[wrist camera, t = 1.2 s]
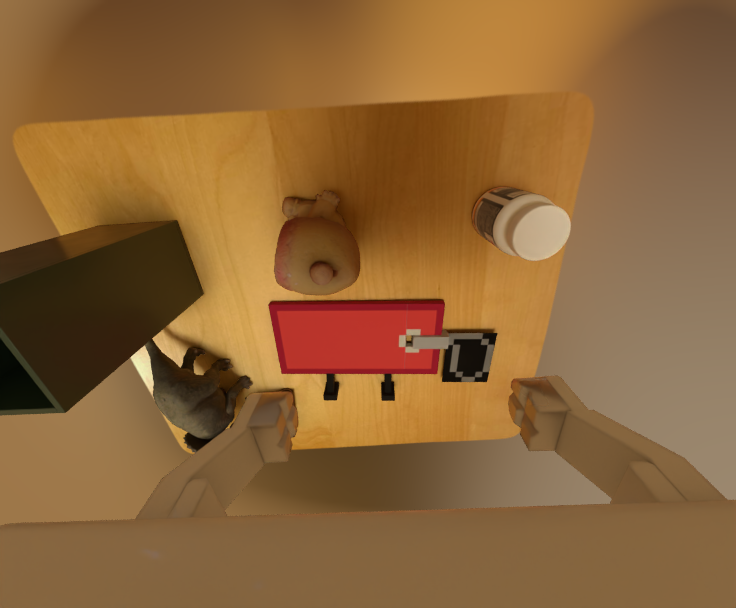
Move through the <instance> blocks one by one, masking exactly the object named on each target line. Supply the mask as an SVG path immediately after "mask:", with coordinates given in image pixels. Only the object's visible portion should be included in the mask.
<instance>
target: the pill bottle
mask: <svg viewBox="0 0 736 608" xmlns="http://www.w3.org/2000/svg"><path fill="white" fill-rule="evenodd" d="M472 222H473V226H474V228H475V230H476V231H477V232H478V233H479V234H480V235H481V236H482V237H484V238H485V239H486V240H488V241H489V242H491V243H492V244H493V245H495V246H496V247H497V248H499V249H500V250H501V251H503V252H504V253H507V254H509V255H513V256H520V257H521V258H523V259H526V260H530V261H538V260H543V259H546V258H548V257H550V256H552V255H554V254H555V253H556V252H558V251H559V250H560V249H561V248H562V246H563V245H564V244H565V242H566V241H567V239H568V236H569V234H570V229H571V223H570V219H569V216H568V214H567V213H566V212H565V211H564V210H563V209H562V208H560V207H558V206H555V205H554V204H553V203H552V202H551V201H550V200H549V199H548V198H546V197H544V196H542V195H539V194H534V193H531V192H527V191H523V190H519V189H515V188H510V187H497V188H494V189H491V190H489V191H488V192H486V193H485V194H483V195H482V196H481V197H480V199H479V200H478V201H477V203H476V205H475V207H474V210H473V213H472Z"/></svg>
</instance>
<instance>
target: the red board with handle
mask: <svg viewBox="0 0 736 608" xmlns="http://www.w3.org/2000/svg"><path fill="white" fill-rule="evenodd" d="M444 307H445V303H444V301H287V302H270V303H269V310H270V315H271V321H272V326H273V331H274V336H275V341H276V347H277V352H278V357H279V362H280V367H281V372H282V374H327V382H326V386H325V391H324V395H323V396H324V400H337V396H338V390H339V382H334V374H385V382H381V393H382V401H395V393H394V382H391V374H437V371H438V362H439V353H440V349H446V352H445V360H444V369H443V377H442V382H487V379H488V375H489V370H490V365H491V360H492V356H493V351H494V346H495V341H496V336H497V333H447V330H442V326H443V316H444ZM406 335H412V339H411V342H412V343H406Z"/></svg>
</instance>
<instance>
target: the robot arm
mask: <svg viewBox="0 0 736 608" xmlns="http://www.w3.org/2000/svg"><path fill="white" fill-rule="evenodd" d="M511 388H512V390H513V393H512V394H511V395H510V396H509V402H508V405H509V412H510V415H511V418H512V420H513V422H514V423H515V424H516V425H518V426H519V427H520V428H521V431H520V435H521V437H522V439H523V440H524V442H525V444H526V446H527V448H528V450H529V451H555V452H556V453H557V454H559V455H560V456H561V457H562V458H563V459H565V460H566V461H567V462H568V463H569V464H571V465H572V466H573V467H574V468H576V469H577V470H578V471H580V472H581V473H582V474H583V475H584V476H585V477H586V478H588V479H589V480H590V481H591V482H593V483H594V484H595V485H596V486H597V487H599V488H600V489H601V490H602V491H604V492H605V493H606V494H607V495H608V496H610V497H611V498H612V500H611V502H610V504H593V505H592V504H591V505H560V506H533V507H532V506H530V507H503V508H501V507H500V508H475V509H473V508H471V509H442V510H412V511H411V510H410V511H380V512H348V513H316V514H287V515H255V516H227V514H226V512H225V509H226V508H227V507H228V506H229V505H230V504H231V502H232V501H233V500H234V499H235V498H236V497H237V496H238V495H239V493H240V492H241V491H242V490H243V489H244V488H245V486H246V485H247V484H248V483H249V482H250V480H251V479H252V478H253V477H254V476H255V475H256V474H257V472H258V471H259V470H260V469H261V468H262V466H263V465H264V463H272V462H286V461H288V459H289V455H290V452H291V448H292V445H293V444H292V441H291V438H292V437H293V436H294V435H295V434H296V430H297V425H298V413H297V409H296V407H294V406H293V405H292V403H293V400H294V398H293V395H292V393H291V392H264V393H251V394H250V395H249V396H248V397H247V399H246V401H245V403H244V405H243V406H242V408H241V410H240V412H239V414H238V416H237V418H236V420H235V422H234V423H233V425H232V427H231V428H227V429H226V430H224V431H223V432H222V433H221V434H219V435H218V436H217V437H215V438H214V439H213V440H211V441H210V442H209V443H208V444H206V445H205V446H204V447H202V448H201V449H200V450H198V451H197V452H196V453H195V454H193V455H192V456H191V457H190V458H188V459H187V460H186V461H184V462H183V463H182V464H180V465H179V466H178V467H176V468H175V469H174V470H173V471H171V472H170V473H169V474H167V475H166V476H165V477H163V478H162V479H161V481H160V482H159V484H158V485H157V487H156V488H155V490H154V491H153V493H152V494H151V496H150V497H149V499H148V501H147V502H146V504H145V505H144V507H143V508H142V509H141V511H140V513H139V514H138V515H137V517H136V519H131V520H103V521H102V520H101V521H73V522H72V521H71V522H44V523H43V522H36V523H11V524H5V525H1V526H0V608H736V500H727V499H726V498H725V497H724V496H723V495H722V494H721V493H720V492H719V491H718V490H717V489H716V488H715V487H714V486H713V485H712V484H711V483H710V482H709V481H708V480H707V479H705V478H704V476H702V475H701V474H700V473H699V472H698V471H697V470H696V469H695V468H694V467H693V466H692V465H691V464H690V463H689V462H688V461H687V460H686V459H685V458H683V457H682V456H680V455H678V454H676V453H674V452H672V451H670V450H668V449H667V448H665V447H663V446H661V445H659V444H657V443H655V442H653V441H651V440H649V439H647V438H646V437H644V436H642V435H640V434H638V433H636V432H634V431H632V430H630V429H628V428H627V427H625V426H623V425H621V424H619V423H617V422H615V421H613V420H612V419H610V418H608V417H606V416H604V415H602V414H600V413H598V412H596V411H595V410H588V409H587V407H586V406H585V405H584V404H583V403H582V402H581V400H580V399H579V398H578V397H577V396H576V395H575V393H574V392H573V391H572V390H571V389H570V388H569V386H568V385H567V384H566V383H565V382H564V380H563V379H562V378H561V377H559V376H545V377H532V378H516V379H513V381H512V383H511Z"/></svg>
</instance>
